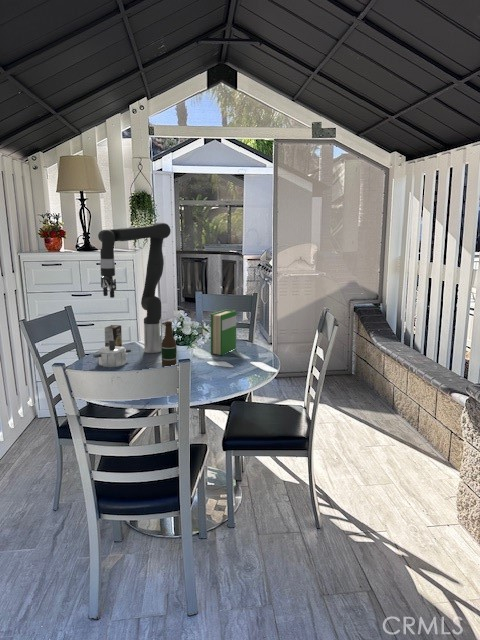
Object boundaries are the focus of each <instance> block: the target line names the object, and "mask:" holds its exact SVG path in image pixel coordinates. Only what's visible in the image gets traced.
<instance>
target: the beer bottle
mask: <svg viewBox="0 0 480 640" xmlns="http://www.w3.org/2000/svg"><path fill="white" fill-rule="evenodd" d="M164 325H165V330H164V331H165V332H164V338H163V339H162V346H161V348H162V351H161V366H162V368H164V367H163V366H171V365H175V364H178V363H177V359H178V357H177V354H178V353H177V341H176V338H175V337H174V335H173V322H172V321H171V320H169V321H165V323H164Z"/></svg>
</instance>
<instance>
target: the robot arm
mask: <svg viewBox="0 0 480 640" xmlns="http://www.w3.org/2000/svg"><path fill="white" fill-rule="evenodd" d="M171 231H172V230H171V226H170V225H169V224H168V223H165V222H155V223H154V224H152V225H149V226H134V227H133V226H132V227H122V228H117V229H114V228H112V229H102V230H100V231H99V232H98V234H97V238H98V240H99V241H100V242H101V248H100V263H99V264H100V276H101V277H100V287H101V288H102V290H103V291H102V293H103V297H107V296H108V294H109V298H111V299H113V298H115V291H116V290H117V282H116V278H113V277H115V276H116V267H115V266H116V265H115V262H116V261H115V254H114V252H115V251H114V249H115V243H116V242H128V241H135V240H142V239H143V240H144V239H150V240H149V241H150V243H149V251H148V257H147V263H146V272H145V281H144V288H143V291H142V296H141V300H140V301H141V302H140V305H141V308H142V309H143V310H145V311H146V317H144V318H143V336H144V337H143V340H144V341H143V344H144V345H143V346H144V348H143V350H144V353H145V354H146V353H147V354H157V353H160V352H162V348H161V346H162V341H163V339H162V337H163V336H162V335H161V319H162V300H161V299H160V297H158V296H156V289H157V285H159V282H160V280H161V278H162V276H163V273H164V264H165V263H164V253H163V244H164V239H167V238H168V237H170V235H171V233H172V232H171ZM108 289H109V293H108Z"/></svg>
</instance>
